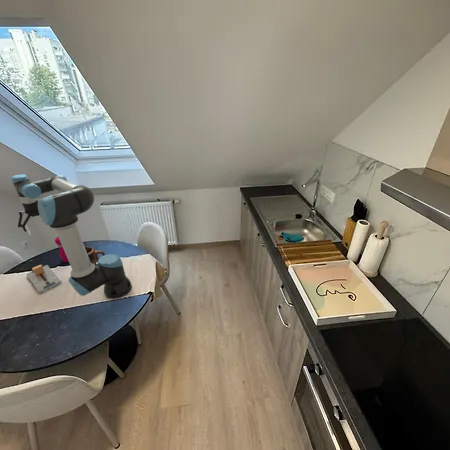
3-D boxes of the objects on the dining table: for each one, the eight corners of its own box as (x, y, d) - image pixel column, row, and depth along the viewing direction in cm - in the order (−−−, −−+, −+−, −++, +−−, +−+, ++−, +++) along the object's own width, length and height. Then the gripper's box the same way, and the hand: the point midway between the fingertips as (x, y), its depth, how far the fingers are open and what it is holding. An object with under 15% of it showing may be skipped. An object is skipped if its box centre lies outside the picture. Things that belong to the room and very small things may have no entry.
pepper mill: (68, 263, 172) (58, 238, 162) (59, 261, 173) (49, 237, 163) (76, 256, 178) (66, 233, 168) (67, 255, 179) (57, 232, 169)
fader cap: (44, 271, 161) (42, 265, 158) (35, 275, 157) (32, 269, 155) (43, 270, 162) (40, 264, 160) (34, 274, 159) (31, 268, 156)
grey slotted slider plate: (61, 283, 154) (60, 280, 153) (39, 294, 147) (38, 290, 145) (48, 267, 168) (46, 264, 167) (27, 276, 160) (25, 273, 159)
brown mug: (107, 258, 176) (102, 242, 169) (108, 268, 166) (102, 251, 159) (75, 266, 169) (69, 249, 162) (74, 277, 159) (67, 259, 152)
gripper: (54, 194, 152) (66, 224, 163) (3, 203, 142) (19, 235, 152) (54, 199, 147) (66, 230, 157) (1, 208, 136) (17, 241, 147)
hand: (43, 232), depth 155 cm, fingers open, 13 cm apart
